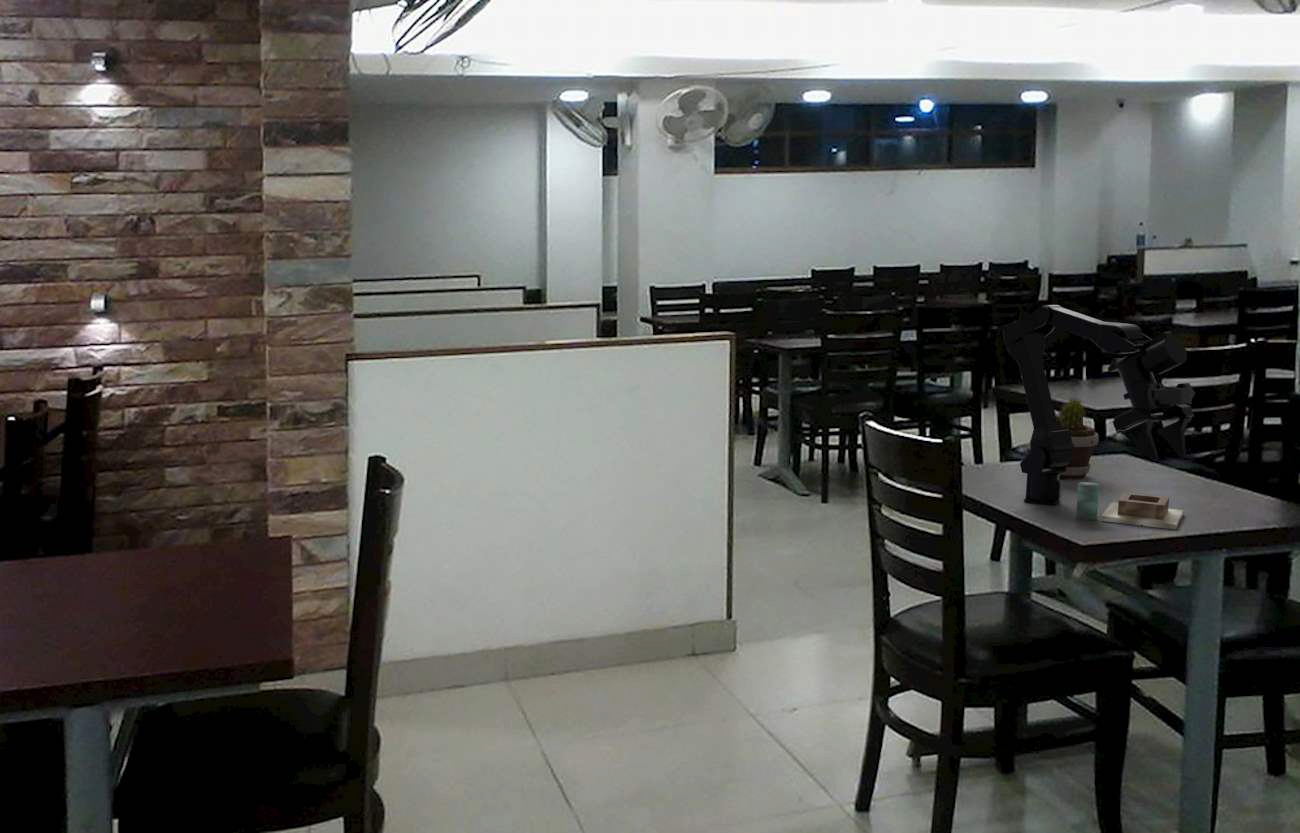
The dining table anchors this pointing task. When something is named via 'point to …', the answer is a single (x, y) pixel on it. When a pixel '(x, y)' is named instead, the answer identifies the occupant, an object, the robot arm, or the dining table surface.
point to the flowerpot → (1077, 439)
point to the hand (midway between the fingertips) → (1169, 458)
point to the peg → (1087, 501)
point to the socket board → (1143, 511)
